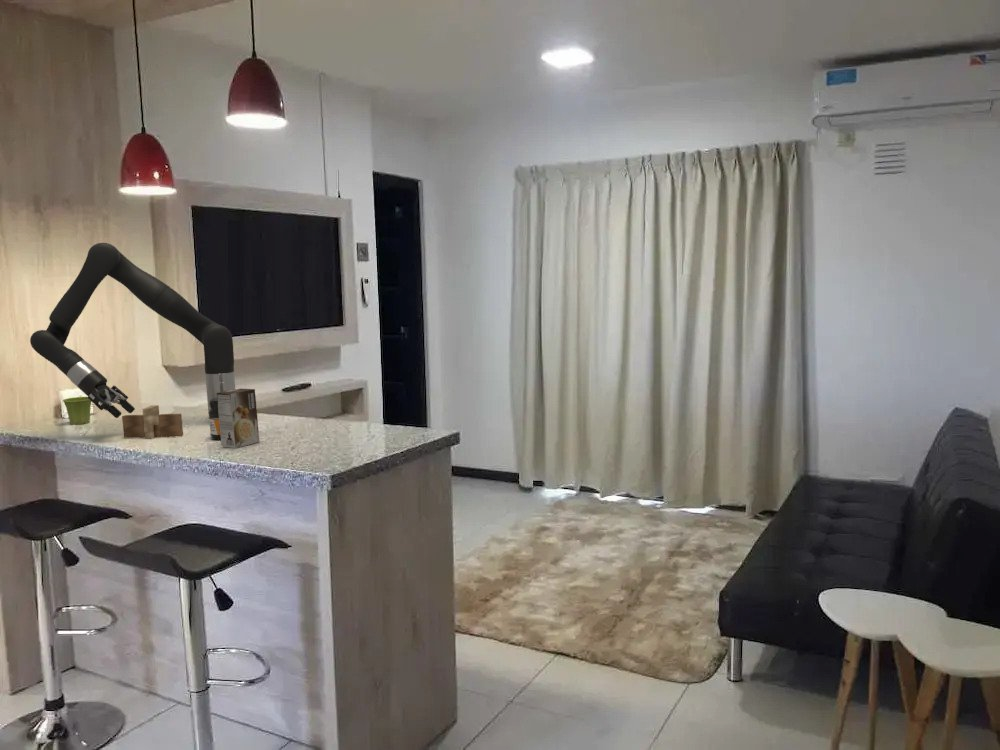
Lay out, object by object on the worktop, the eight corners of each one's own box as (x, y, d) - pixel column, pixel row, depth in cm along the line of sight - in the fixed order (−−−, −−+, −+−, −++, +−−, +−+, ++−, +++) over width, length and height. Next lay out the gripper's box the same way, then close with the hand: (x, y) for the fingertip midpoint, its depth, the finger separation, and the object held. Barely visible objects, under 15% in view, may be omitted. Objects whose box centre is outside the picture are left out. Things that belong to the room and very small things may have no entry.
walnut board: (124, 438, 256) (121, 416, 255) (127, 436, 258) (125, 415, 257) (180, 436, 255) (178, 414, 254) (183, 435, 257) (181, 413, 256)
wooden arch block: (145, 438, 253) (142, 408, 252) (153, 435, 259) (151, 405, 258) (152, 438, 253) (149, 408, 252) (161, 434, 259) (158, 405, 258)
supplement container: (205, 441, 246) (202, 402, 244) (216, 434, 256) (213, 396, 255) (240, 440, 246) (237, 400, 245) (250, 433, 257) (247, 395, 255)
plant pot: (100, 421, 288) (98, 397, 287) (74, 426, 280) (72, 401, 279) (85, 419, 293) (82, 396, 292) (59, 424, 285) (57, 400, 284)
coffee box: (245, 440, 245) (241, 387, 243) (260, 442, 242) (256, 388, 240) (220, 446, 237) (216, 392, 235) (235, 448, 234) (230, 393, 232)
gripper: (82, 372, 247) (122, 408, 248) (106, 366, 261) (144, 401, 262) (66, 390, 248) (107, 426, 249) (91, 383, 262) (129, 418, 263)
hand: (126, 413), depth 255 cm, fingers open, 8 cm apart
